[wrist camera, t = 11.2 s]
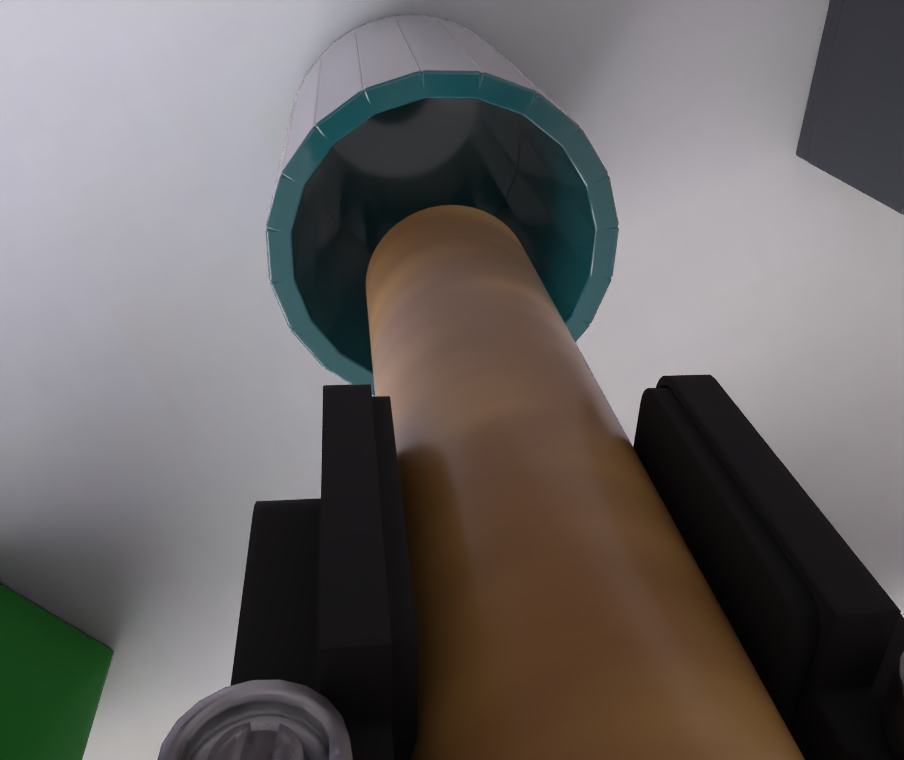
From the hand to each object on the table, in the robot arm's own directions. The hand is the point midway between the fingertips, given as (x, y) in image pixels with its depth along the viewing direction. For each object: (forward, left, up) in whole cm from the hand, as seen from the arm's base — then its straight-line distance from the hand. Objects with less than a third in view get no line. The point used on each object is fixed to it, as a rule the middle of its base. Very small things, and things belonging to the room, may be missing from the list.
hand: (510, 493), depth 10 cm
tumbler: (0, 0, -17) cm, 17 cm away
